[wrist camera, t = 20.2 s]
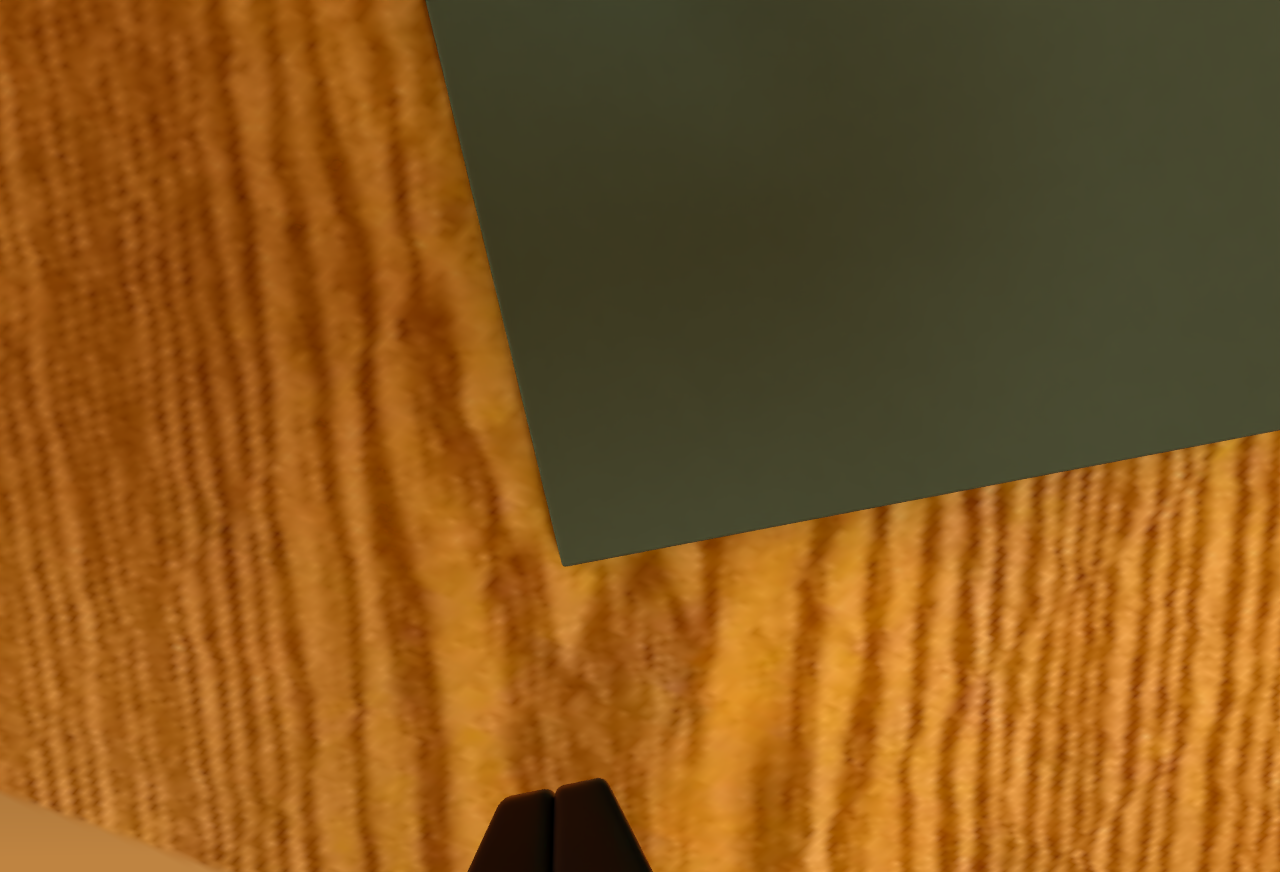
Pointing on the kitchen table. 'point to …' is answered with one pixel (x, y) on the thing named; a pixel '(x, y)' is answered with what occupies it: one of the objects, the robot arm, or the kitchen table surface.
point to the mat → (866, 244)
